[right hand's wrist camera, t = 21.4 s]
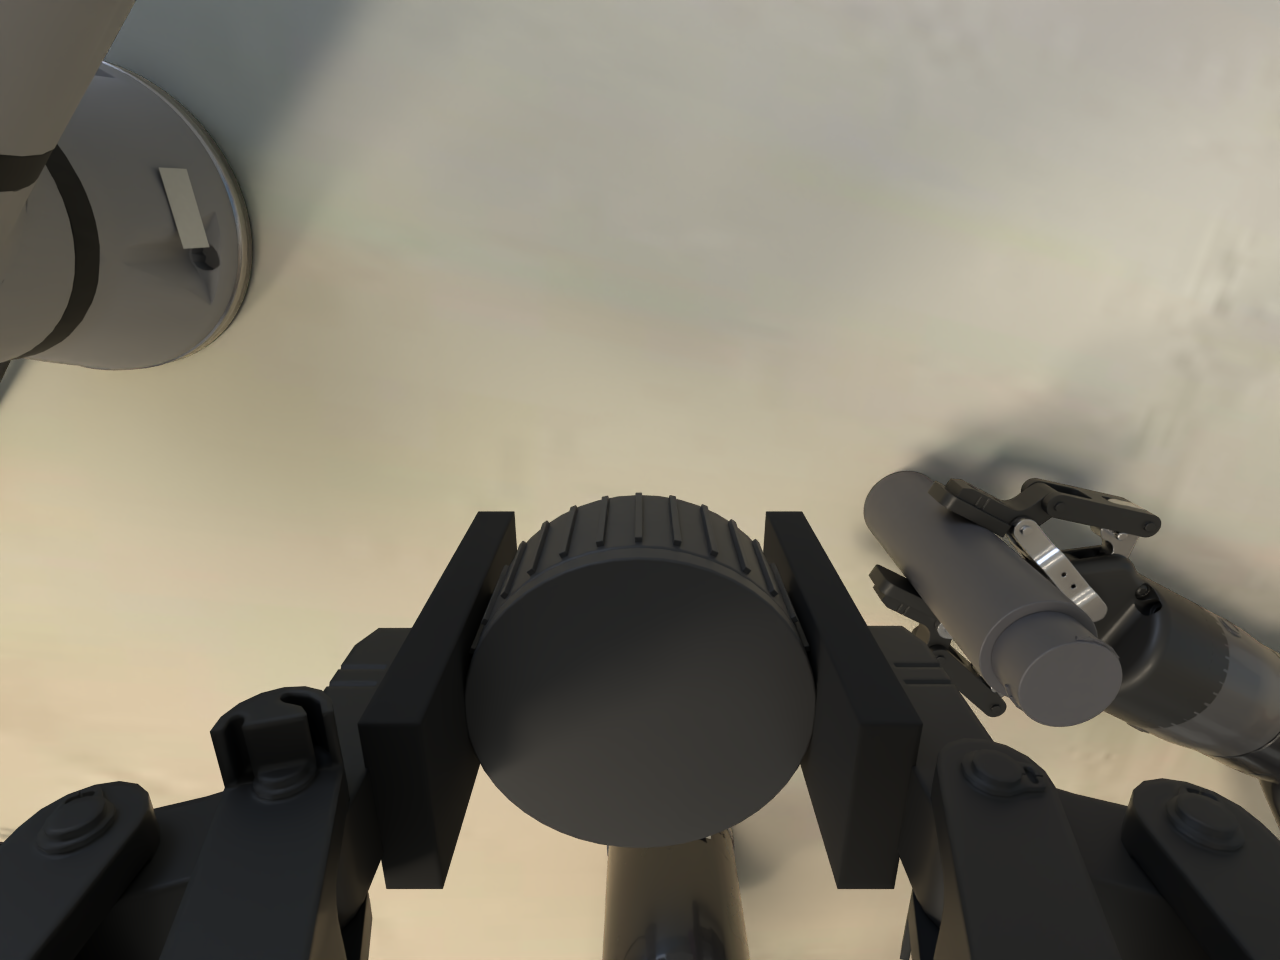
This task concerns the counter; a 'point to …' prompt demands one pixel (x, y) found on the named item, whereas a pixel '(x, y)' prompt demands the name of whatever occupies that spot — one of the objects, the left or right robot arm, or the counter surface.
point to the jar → (995, 606)
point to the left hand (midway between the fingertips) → (907, 535)
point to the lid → (640, 675)
